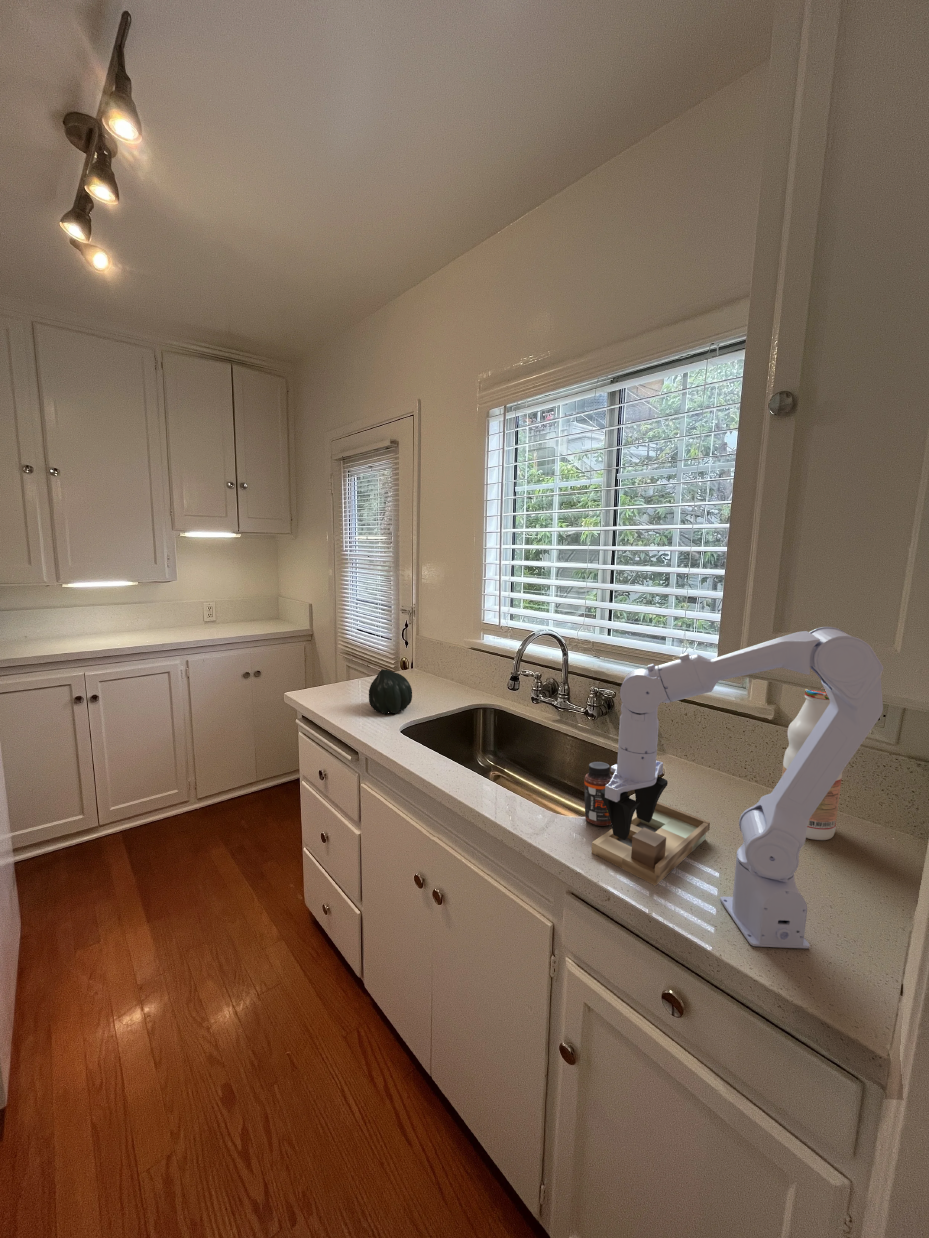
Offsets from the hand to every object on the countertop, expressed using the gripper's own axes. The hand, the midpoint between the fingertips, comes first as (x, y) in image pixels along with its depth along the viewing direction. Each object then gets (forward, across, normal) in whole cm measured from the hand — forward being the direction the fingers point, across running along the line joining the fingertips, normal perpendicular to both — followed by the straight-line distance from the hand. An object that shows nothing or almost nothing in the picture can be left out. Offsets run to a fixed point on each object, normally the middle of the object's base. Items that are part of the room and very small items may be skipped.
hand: (632, 827), depth 79 cm
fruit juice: (+10, -42, +15) cm, 46 cm away
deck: (+10, -13, -3) cm, 17 cm away
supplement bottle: (+10, -13, -14) cm, 21 cm away
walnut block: (+8, -6, 0) cm, 10 cm away
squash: (+10, -21, -99) cm, 102 cm away
